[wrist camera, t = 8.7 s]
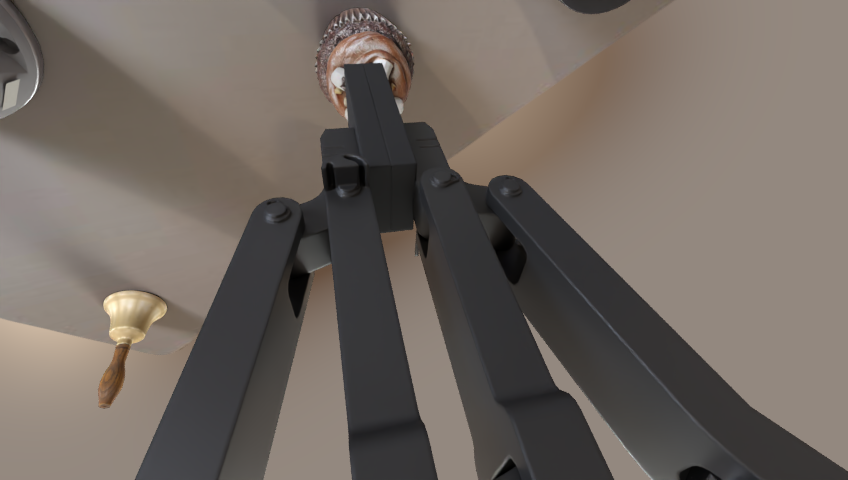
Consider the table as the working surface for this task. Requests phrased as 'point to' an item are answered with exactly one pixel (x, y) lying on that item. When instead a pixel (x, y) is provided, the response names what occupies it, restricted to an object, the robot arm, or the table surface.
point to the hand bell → (126, 334)
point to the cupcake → (363, 54)
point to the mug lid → (593, 5)
